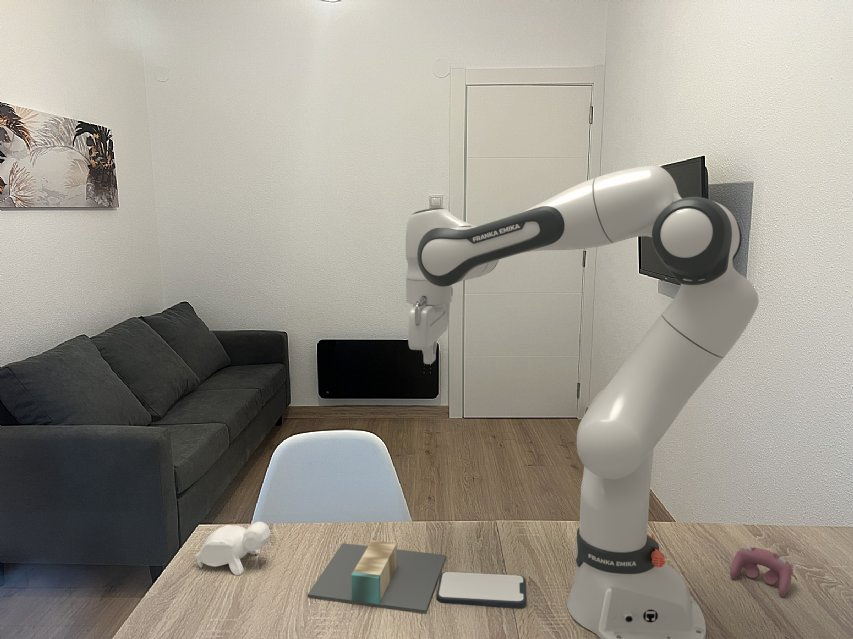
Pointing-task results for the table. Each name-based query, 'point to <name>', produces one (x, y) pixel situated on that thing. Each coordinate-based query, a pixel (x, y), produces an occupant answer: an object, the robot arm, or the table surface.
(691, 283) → the robot arm
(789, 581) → the video game controller
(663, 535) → the table surface
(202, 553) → the white tortoise figurine
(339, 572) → the rubber mat
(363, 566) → the birch block
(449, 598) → the smartphone
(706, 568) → the table surface
